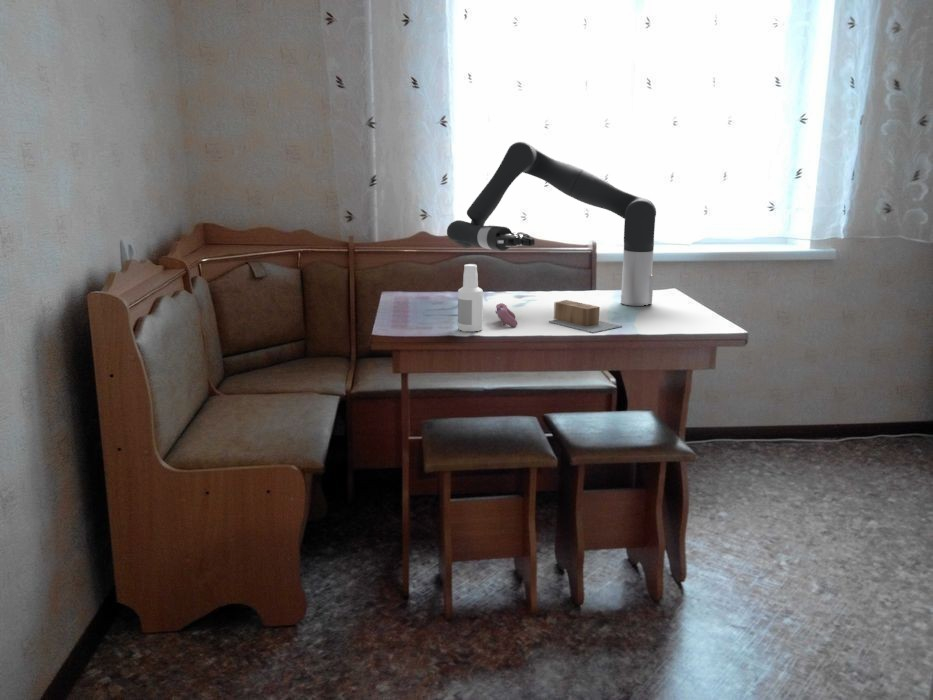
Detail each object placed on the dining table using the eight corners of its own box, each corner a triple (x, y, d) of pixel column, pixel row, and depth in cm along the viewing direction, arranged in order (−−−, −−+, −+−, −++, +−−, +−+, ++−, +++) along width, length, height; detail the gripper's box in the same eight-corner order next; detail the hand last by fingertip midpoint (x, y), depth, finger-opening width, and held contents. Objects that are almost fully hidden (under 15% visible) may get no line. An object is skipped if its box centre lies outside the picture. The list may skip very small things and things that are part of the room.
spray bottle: (460, 326, 223) (460, 262, 218) (484, 327, 222) (485, 263, 217) (455, 331, 216) (455, 266, 212) (480, 333, 215) (480, 267, 210)
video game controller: (502, 325, 232) (492, 304, 230) (516, 318, 231) (506, 297, 230) (504, 333, 222) (493, 311, 221) (518, 325, 222) (507, 304, 220)
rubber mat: (548, 322, 229) (548, 321, 229) (577, 316, 236) (577, 315, 236) (593, 333, 216) (593, 332, 216) (621, 327, 223) (622, 325, 223)
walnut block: (566, 299, 234) (599, 306, 224) (565, 316, 235) (598, 324, 225) (554, 301, 231) (587, 309, 221) (553, 318, 232) (586, 326, 222)
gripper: (478, 227, 245) (516, 231, 232) (510, 224, 253) (548, 227, 240) (478, 251, 247) (516, 256, 234) (510, 247, 255) (548, 252, 242)
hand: (532, 242), depth 237 cm, fingers closed
